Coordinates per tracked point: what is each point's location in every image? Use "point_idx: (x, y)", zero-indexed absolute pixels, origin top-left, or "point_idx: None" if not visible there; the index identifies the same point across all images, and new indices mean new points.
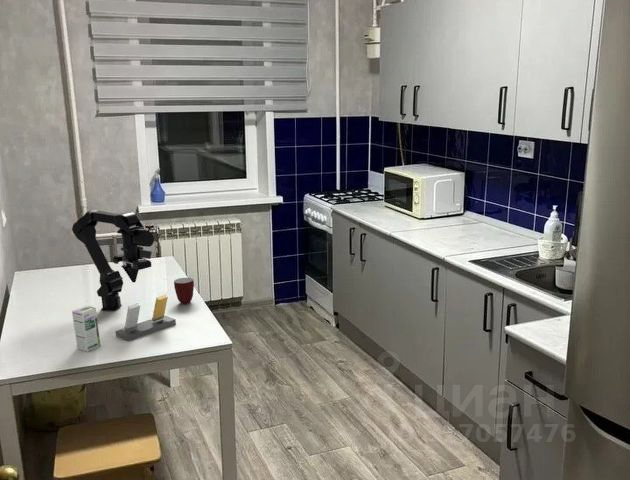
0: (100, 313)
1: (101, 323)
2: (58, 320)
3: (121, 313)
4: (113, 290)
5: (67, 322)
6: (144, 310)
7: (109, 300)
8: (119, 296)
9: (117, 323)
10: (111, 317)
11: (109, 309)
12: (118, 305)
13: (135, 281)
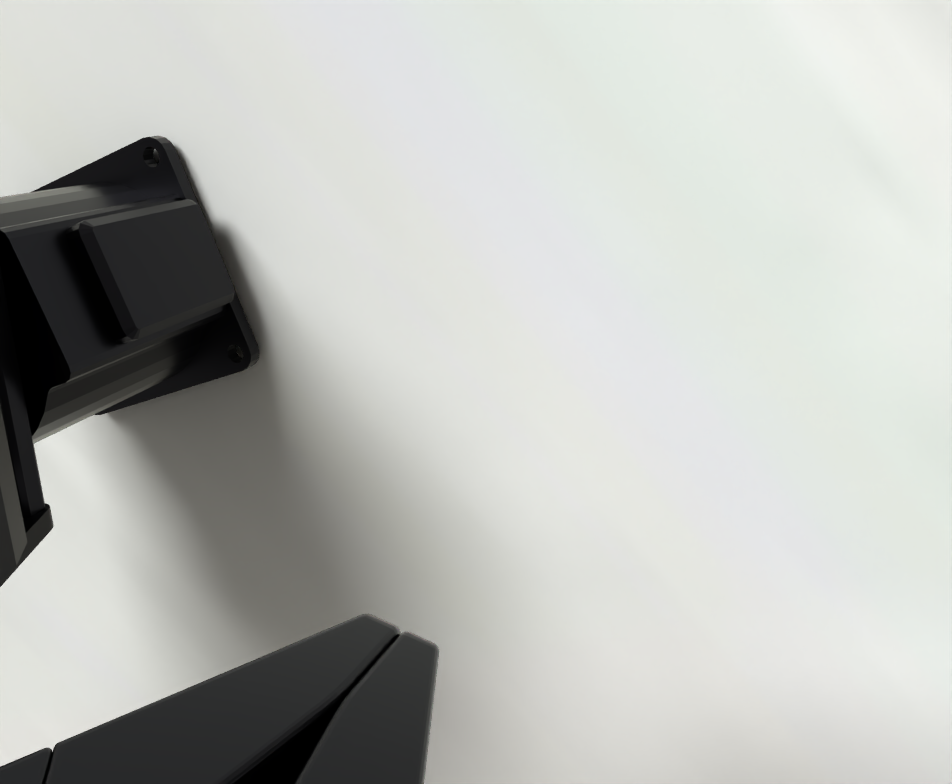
0: (176, 490)
1: (446, 772)
2: (6, 740)
3: (415, 422)
4: (13, 502)
5: None
6: (677, 187)
7: (85, 416)
8: (82, 236)
9: (642, 755)
10: (405, 583)
11: (184, 387)
12: (217, 299)
13: (434, 662)
